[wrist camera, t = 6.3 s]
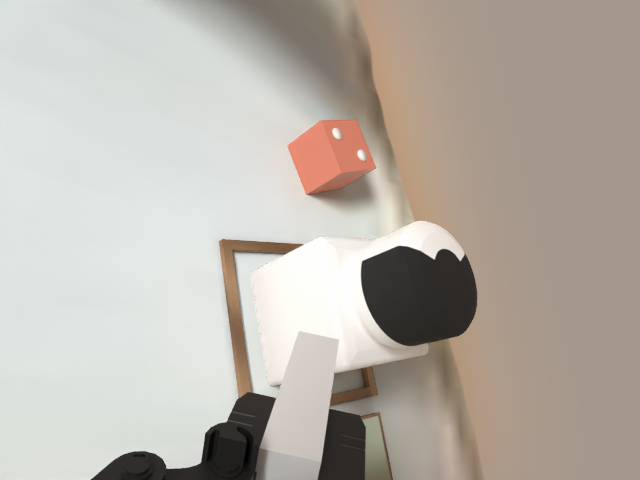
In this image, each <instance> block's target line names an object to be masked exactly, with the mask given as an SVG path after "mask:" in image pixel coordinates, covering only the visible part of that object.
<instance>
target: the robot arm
mask: <svg viewBox="0 0 640 480" xmlns="http://www.w3.org/2000/svg"><path fill="white" fill-rule="evenodd" d="M338 345H339V339H334V338H329V337H325V336H320V335H315V334H311V333H306V332H301V331H299V332H298V335H297V338H296V341H295V344H294V347H293V350H292V353H291V356H290V359H289V362H288V365H287V368H286V371H285V374H284V377H283V380H282V383H281V386H280V389H279V392H278V394H277V397H276V398H273V397H269V396H264V395H260V394H255V393H251V392H247V393H246V394H244V395H243V396H242V397H240V398H239V399H237V401H236V403H235V405H234V407H233V410H232V412H231V414H230V416H229V418H228V421H227V422H226V423H220V424H217V425H215V426H213V427H211V428H210V429H209V430H208V431H207V432H206V434H205V441H204V448H203V455H202V462H201V463H200V464H198V465H196V466H193V467H189V468H181V469H166V465H165V463H164V461H163V459H162V458H160V457H159V456H157V455H156V454H153V453H149V452H146V451H139V452H131V453H127V454H124V455H122V456H120V457H118V458H117V459H115V460H114V461H112V462H111V463H110V464H109V465H108V466H107V467H105V468H104V469H103V470H102V471H101V472H99V473H98V474H97V475H96V476H95V477H93V478H92V479H91V480H365V449H366V441H365V440H366V426H365V425H364V423H363V421H362V419H361V417H360V415H355V414H351V413H346V412H342V411H337V410H333V409H329V406H330V399H331V392H332V386H333V379H334V372H335V365H336V358H337V351H338Z"/></svg>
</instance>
